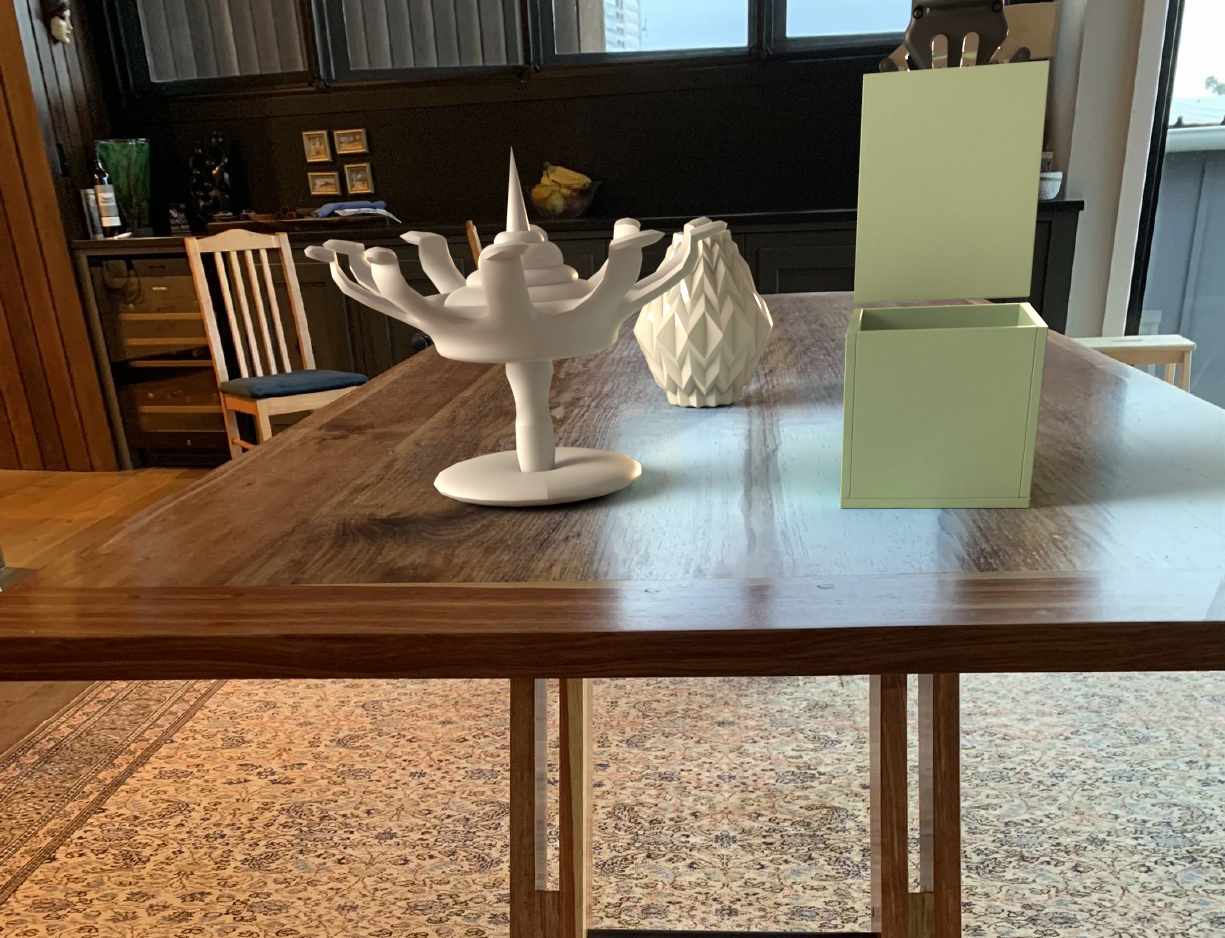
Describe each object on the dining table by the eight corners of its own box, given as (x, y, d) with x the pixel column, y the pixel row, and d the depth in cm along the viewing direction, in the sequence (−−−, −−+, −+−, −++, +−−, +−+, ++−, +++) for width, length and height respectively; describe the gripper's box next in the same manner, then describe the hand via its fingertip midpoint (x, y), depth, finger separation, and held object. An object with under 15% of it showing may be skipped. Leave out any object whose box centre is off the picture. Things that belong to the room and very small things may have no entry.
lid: (1049, 60, 97) (1048, 63, 98) (863, 74, 100) (863, 76, 101) (1029, 296, 102) (1028, 297, 103) (853, 302, 105) (854, 303, 106)
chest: (1029, 508, 95) (1048, 326, 89) (839, 508, 98) (845, 332, 92) (1012, 462, 109) (1028, 302, 103) (847, 463, 112) (853, 308, 106)
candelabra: (413, 451, 128) (375, 158, 115) (745, 444, 122) (744, 135, 109) (281, 540, 98) (211, 160, 86) (711, 537, 92) (704, 127, 79)
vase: (738, 417, 135) (737, 234, 127) (612, 411, 143) (603, 238, 134) (795, 393, 147) (797, 224, 139) (675, 389, 155) (671, 228, 146)
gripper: (1042, -62, 101) (1020, 173, 109) (880, -47, 104) (870, 181, 112) (1051, -77, 95) (1027, 174, 103) (878, -60, 97) (868, 183, 105)
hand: (945, 177), depth 107 cm, fingers closed
